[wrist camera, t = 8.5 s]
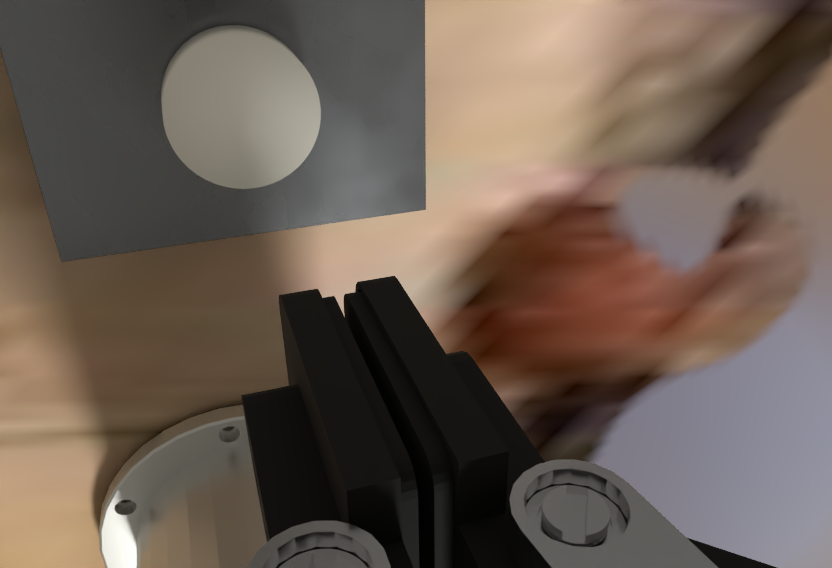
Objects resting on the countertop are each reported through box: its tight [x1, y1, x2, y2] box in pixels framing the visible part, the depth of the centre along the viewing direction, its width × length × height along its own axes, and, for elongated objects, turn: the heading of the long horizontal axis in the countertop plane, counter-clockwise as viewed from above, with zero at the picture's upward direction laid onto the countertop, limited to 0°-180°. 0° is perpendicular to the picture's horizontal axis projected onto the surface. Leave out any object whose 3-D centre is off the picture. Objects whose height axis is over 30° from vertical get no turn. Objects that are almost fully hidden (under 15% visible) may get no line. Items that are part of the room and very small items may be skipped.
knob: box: [161, 25, 321, 189], centre depth 23 cm, size 4×4×5 cm
